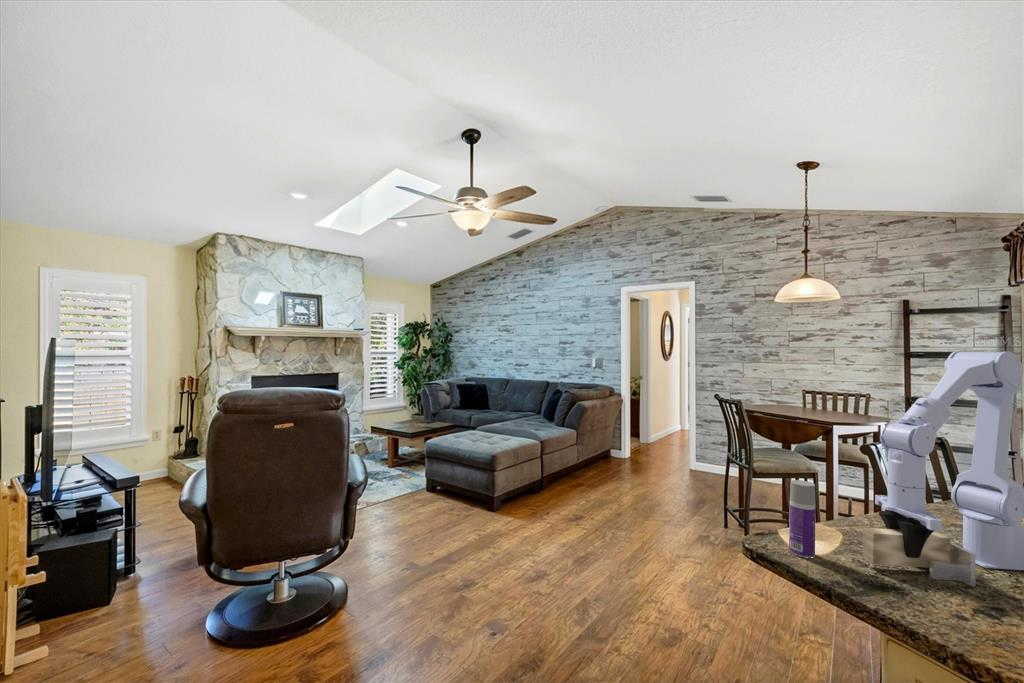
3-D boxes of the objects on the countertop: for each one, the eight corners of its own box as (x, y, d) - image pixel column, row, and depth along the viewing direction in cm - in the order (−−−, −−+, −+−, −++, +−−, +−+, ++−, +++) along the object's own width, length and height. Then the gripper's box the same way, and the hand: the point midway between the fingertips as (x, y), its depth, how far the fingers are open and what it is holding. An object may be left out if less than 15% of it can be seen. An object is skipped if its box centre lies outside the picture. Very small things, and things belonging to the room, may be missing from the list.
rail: (936, 561, 91) (937, 531, 91) (949, 569, 88) (950, 537, 88) (862, 557, 92) (863, 527, 93) (873, 564, 90) (873, 533, 90)
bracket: (933, 561, 95) (933, 532, 95) (978, 586, 85) (978, 554, 85) (901, 559, 95) (901, 530, 95) (941, 584, 85) (942, 551, 85)
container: (819, 559, 94) (819, 487, 94) (794, 557, 95) (795, 485, 95) (809, 550, 99) (810, 480, 99) (785, 547, 100) (786, 479, 100)
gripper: (860, 473, 98) (859, 536, 98) (913, 494, 84) (912, 569, 84) (895, 475, 98) (894, 538, 97) (954, 496, 83) (954, 571, 83)
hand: (905, 553), depth 90 cm, fingers closed on rail, 3 cm apart
